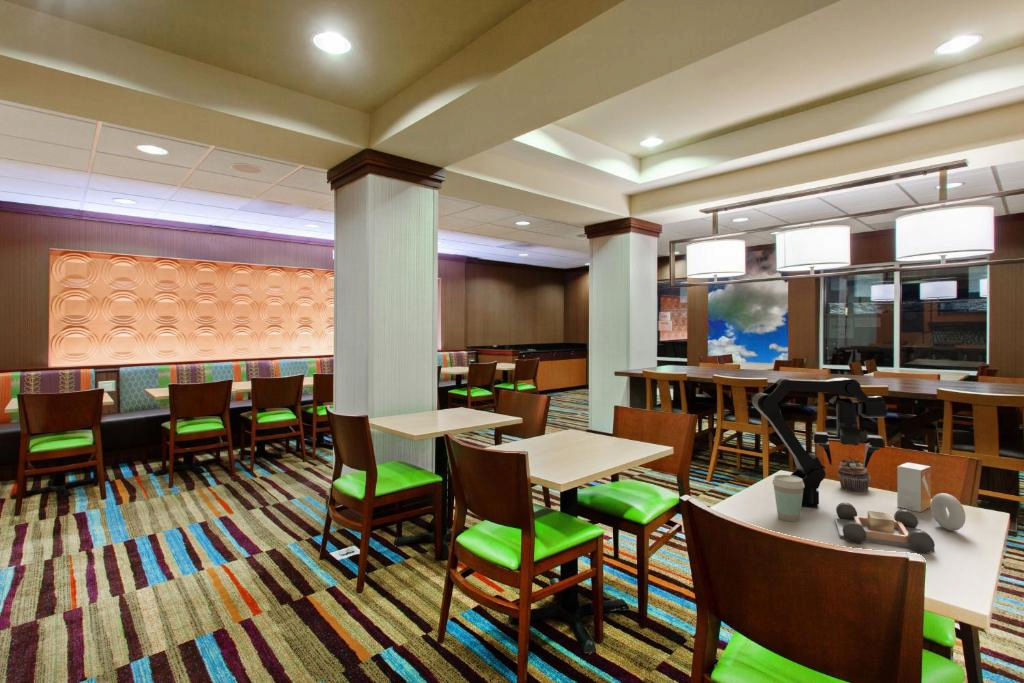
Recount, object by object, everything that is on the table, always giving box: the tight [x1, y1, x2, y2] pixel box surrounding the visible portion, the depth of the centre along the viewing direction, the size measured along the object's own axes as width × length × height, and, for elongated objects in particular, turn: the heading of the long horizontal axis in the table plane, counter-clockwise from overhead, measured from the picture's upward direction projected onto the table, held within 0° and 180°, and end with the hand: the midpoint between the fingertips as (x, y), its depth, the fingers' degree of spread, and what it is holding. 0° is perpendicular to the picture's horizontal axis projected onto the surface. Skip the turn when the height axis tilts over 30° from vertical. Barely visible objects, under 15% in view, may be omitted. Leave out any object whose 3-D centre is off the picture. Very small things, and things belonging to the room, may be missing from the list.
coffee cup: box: [772, 474, 805, 522], centre depth 152 cm, size 8×8×12 cm
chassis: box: [834, 502, 936, 554], centre depth 138 cm, size 20×19×5 cm
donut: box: [930, 492, 967, 532], centre depth 141 cm, size 10×4×10 cm, turn 176°
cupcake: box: [837, 458, 872, 493], centre depth 178 cm, size 10×10×10 cm
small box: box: [896, 462, 932, 513], centre depth 159 cm, size 8×6×13 cm
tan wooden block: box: [866, 510, 895, 534], centre depth 138 cm, size 5×6×4 cm
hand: (847, 466), depth 162 cm, fingers open, 9 cm apart
